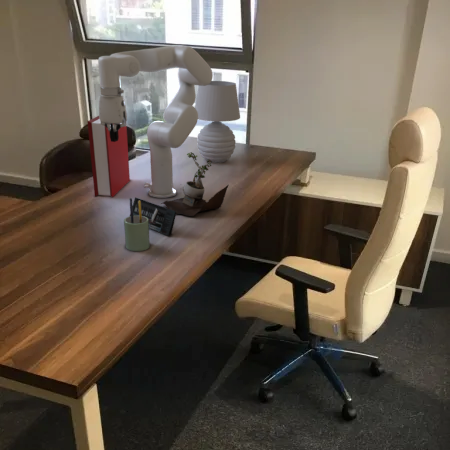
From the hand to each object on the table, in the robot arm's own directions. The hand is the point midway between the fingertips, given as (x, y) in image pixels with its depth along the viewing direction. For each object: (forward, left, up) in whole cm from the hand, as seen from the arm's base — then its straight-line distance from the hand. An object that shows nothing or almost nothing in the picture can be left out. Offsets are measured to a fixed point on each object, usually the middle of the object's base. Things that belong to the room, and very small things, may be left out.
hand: (114, 141), depth 206 cm
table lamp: (+13, +88, -27) cm, 93 cm away
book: (-15, +21, -27) cm, 38 cm away
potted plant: (+30, +9, -27) cm, 42 cm away
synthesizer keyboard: (+23, -16, -27) cm, 39 cm away
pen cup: (+26, -35, -27) cm, 51 cm away
